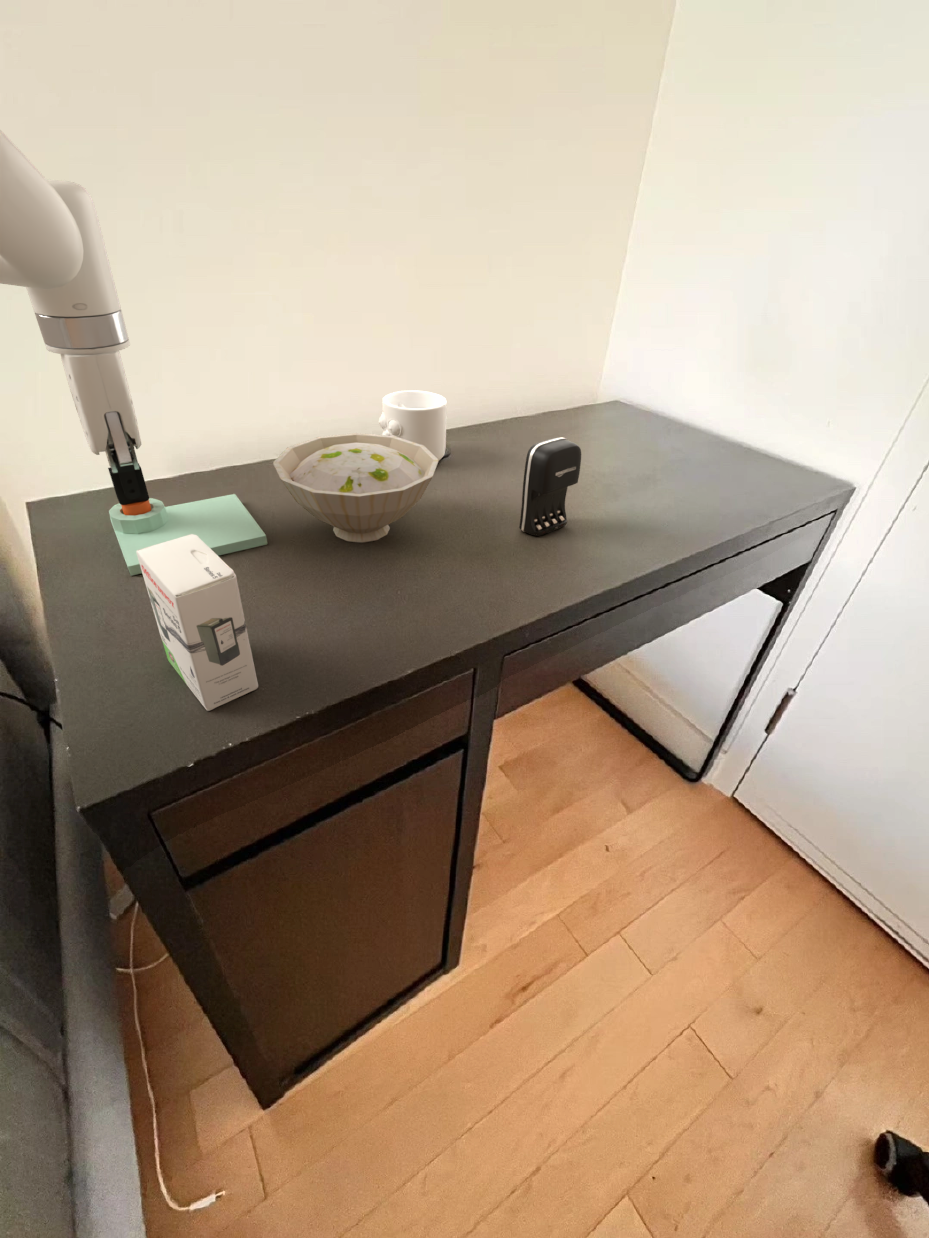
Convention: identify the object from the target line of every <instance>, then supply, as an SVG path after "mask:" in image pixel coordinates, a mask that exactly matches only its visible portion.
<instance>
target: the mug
mask: <svg viewBox="0 0 929 1238" xmlns="http://www.w3.org/2000/svg"><path fill="white" fill-rule="evenodd" d="M381 400H382V401H381V407H382V411H381V415H380V416H379V419H378V425H379V426H380V428H381V429H382V434H381V435H386V436H395V437H398V438H401V439H405V440H408V441H411V442H414V443H417V444H420V445H423V446H425V447H426V448H427V449H428V450H429V451H430V452H431V453H432V454H433V455H434V456H435V457H436V458H437V459H438V460H439V461H440V460H442V458H443V457H444V456H445V454H446V446H447V417H448V416H447V413H448V411H447V410H448V402H447V399H446V397H444V396H443V395H441V394H438V393H435V392H431V391H425V390H417V389H416V390H415V389H413V390H409V389H408V390H398V391H394V392H393V391H392V392H390V393H387V394H386V395H384V396H383V397H382V399H381Z"/></svg>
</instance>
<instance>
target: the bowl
mask: <svg viewBox="0 0 929 1238" xmlns="http://www.w3.org/2000/svg"><path fill="white" fill-rule="evenodd" d="M439 461H440V460H438V459H437V458H436V457H435V456H434V455H433V454H432V453H431V452H430V451H429V450H428V449H427V448H426V447H425V446H423V445H420V444H417V443H414V442H411V441H408V440H405V439H401V438H398V437H395V436H386V435H382V434H374V433H373V434H371V433H361V432H360V433H359V432H353V433H343V434H335V435H334V434H332V435H324V436H317V437H314V438H310V439H308V440H305V441H303V442H302V441H301V442H298V443H296V444H294V445H290V446H287V447H286V448H285V449H284V451H282V452H281V454H279V456H277V458H276V459H275V460H274V461H273V462H272V464H273V466H274V468H275V470H276V472H277V474H278V476H279V479H280V480H281V482H282V483H283V485H284V486H285V488H286V489H287V490H288V492H289V493H290V494H291V496H292V498H293V499H294V500H295V502H296V503H297V504H298V505H300V506H301V507H302V508H303V509H305V510H306V511H307V512H309V513H310V514H311V515H312V516H313V517H314V518H315V519H317V520H318V521H321V522H322V523H325V524H327V525H330V526H332V527H333V528H332V532H333V533H334V534H335V536H336V537H337V538H339V539H341V540H344V541H346V542H353V543H368V542H373V541H378V540H380V539H381V538H384V537H386V536H388V533H389V531H390V529H391V526H389V525H390V524H392V523H394V522H396V521H398V520H400V519H402V518H403V517H404V516H405V515H406V514H407V512H409V511H410V510H411V509H412V508H413V507H414V506H415V505H416V504H417V503H418V502H419V501H420V500H421V499H422V497H423V496H424V493H425V492H426V490H427V488H428V486H429V484H430V482H431V481H432V479H433V476H434V474H435V471H436V468H437V466H438V463H439Z"/></svg>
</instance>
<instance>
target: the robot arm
mask: <svg viewBox="0 0 929 1238" xmlns="http://www.w3.org/2000/svg"><path fill="white" fill-rule="evenodd" d="M1 284H2V285H8V286H15V287H22V288H23V287H24V288H26V292H27V295H28V297H29V301H30V304H31V306H32V309H33V312H34V316H35V319H36V322H37V325H38V327H39V331H40V334H41V336H42V339H43V342H44V346H45V349H46V351H48V352H51V353H53V354H59V355H60V359H61V362H62V363H61V364H62V367H63V370H64V374H65V377H66V380H67V384H68V387H69V391H70V393H71V396H72V401H73V404H74V407H75V410H76V412H77V415H78V418H79V423H80V424H81V428H82V430H83V434H84V437H85V440H86V442H87V445H88V447H89V450H90V452H91V453H93V454H95V455H96V456H99V455H100V453H102V452H103V453H104V452H105V456H106V459H107V463H108V465H109V467H107V470H108V473H109V476H110V479H111V481H112V483H111V484H112V486H113V489H114V492H115V496H116V499H117V501H118V503H120V504H121V505H127V504H132V503H138V502H143V501H148V500H149V498H150V495H149V492H148V488H147V484H146V481H145V477H144V473H143V470H142V469H143V468H142V467H141V466H140V463H139V461H138V458H137V457H138V456H137V454H136V450H138V449H140V447H141V446H142V439H141V435H140V428H139V425H138V419H137V415H136V411H135V406H134V402H133V398H132V393H131V391H130V390H131V389H130V386H129V382H128V379H127V374H126V370H125V367H124V363H123V359H122V357H121V353H120V351H122V350H125V349H127V348H129V347H130V346H131V342H130V338H129V334H128V331H127V330H128V329H127V326H126V323H125V319H124V314H123V310H122V307H121V302H120V299H119V295H118V292H117V291H118V290H117V288H116V283H115V279H114V275H113V271H112V267H111V264H110V260H109V255H108V251H107V248H106V243H105V240H104V235H103V232H102V227H101V224H100V220H99V215H98V211H97V209H96V205H95V202H94V199H93V197H92V196H91V193H90V192H89V191H88V190H87V189H86V188H85V187H84V186H83V185H82V184H79V183H76V182H75V181H71V180H62V179H61V180H60V179H50V178H49V179H47V178H46V177H45V176H44V175H43V174H42V173H41V171H40V170H39V169H38V168H37V167H36V166H35V165H34V164H33V163H32V161H30V159H28V158H27V156H26V155H25V154H24V153H23V152H22V151H21V150H20V149H19V148H18V146H16V144H14V142H13V141H12V140H11V139H10V138H9V137H8V136H7V134H5V133H4V132H3V131H2V130H1V129H0V285H1ZM135 449H136V450H135Z"/></svg>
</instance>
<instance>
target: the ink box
mask: <svg viewBox="0 0 929 1238" xmlns="http://www.w3.org/2000/svg"><path fill="white" fill-rule="evenodd" d="M136 553H137V557H138V560H139V564H140V567H141V570H142V573H141V574H142V576H143V580H144V584H145V587H146V590H147V594H148V597H149V601H150V604H151V605H150V606H151V607H152V611H153V615H154V618H155V621H156V625H157V628H158V633H159V635H160V638H161V641H162V645H163V648H164V651H165V652H164V653H165V655H166V658H167V660H168V662H169V664H170V665H171V666H172V667H173V669H174V670H175V672H176V673H177V674H178V675H179V677H180V678H181V679H182V681H183V682H184V684H186V686H187V688H188V689H189V690H190V691H191V693H192V694H193V695H194V696H195V698H196V699H197V700H198V701H199V703H200V704H201V705H202V706H203V708H204V709H205V710H206V711H207V712H209V711H212V710H215V709H216V708H218V707H220V706H222V705H225V704H227V703H229V702H231V701H234V700H236V699H238V698H239V697H242V696H244V695H246V694H248V693H251V692H253V691H256V690H257V689H258V688H259V682H258V678H257V673H256V668H255V667H256V666H255V664H254V658H253V653H252V648H251V642H250V638H249V633H248V628H247V624H246V619H245V614H244V609H243V604H242V599H241V593H240V589H239V583H238V578H237V574H236V573H235V571H234V570H233V569H234V568H231V567H230V566H229V565H228V564H227V563H226V562H225V561H224V560H223V559H222V558H221V557H220V555H219V556H218V555H217V554H216V553H215V552H214V551H212V549H210V548H209V547H208V546H207V545H206V544H205V543H204V542H203V541H202V540H201V539H200V538H199V537H198V536H197V535H193V534H190V535H187V536H183V537H180V538H177V539H173V540H170V541H166V542H163V543H159V544H156V545H152V546H149V547H146V548H143V549H139V550H137V551H136Z"/></svg>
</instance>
